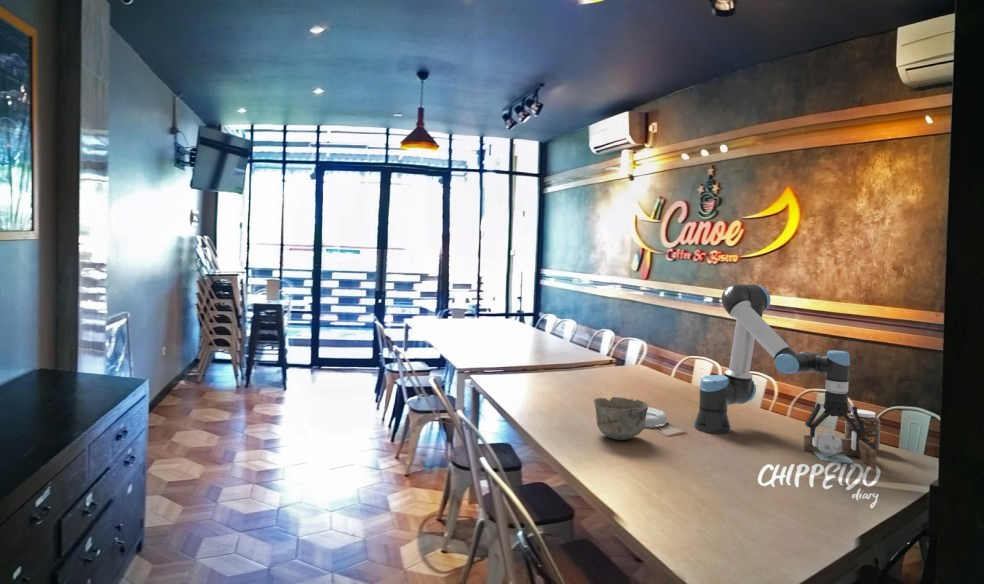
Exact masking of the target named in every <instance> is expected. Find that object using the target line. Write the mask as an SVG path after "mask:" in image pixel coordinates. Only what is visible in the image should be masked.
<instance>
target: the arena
mask: <svg viewBox="0 0 984 584" xmlns="http://www.w3.org/2000/svg"><path fill="white" fill-rule="evenodd" d="M839 438H840V439H841V441H842V452H840V453H837V454H845V455H846V456H853V457H858V458H859V459H860V460H861V461H862V462H863V463H865V464H866V465H867V466H869V467H870V468H872V469H877V456H878V455H877V454H878V452H877V451H875V450H874V449H872V448H871V447H870V446H868V445H867V444H866V443H864V442H863V441H862V440H859V441H856V450H853V449H851V439H845V437H844V438H843V437H839ZM812 441H813V437H811V436H810V434H804V435H803V451H804V452H810V453H811V452H813V451H815V452H821V451H820V450H819V449H818V448H817V447H814V446H813V445H812ZM813 453H814V452H813Z"/></svg>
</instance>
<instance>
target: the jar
mask: <svg viewBox="0 0 984 584" xmlns="http://www.w3.org/2000/svg"><path fill="white" fill-rule="evenodd" d="M857 413H858V415H859V417H860V419H861V422H862V424H863V426H864V428H865V432H861V433H860V434H859V440H862V441H863V442H864V443H866V444H867V445H868V446H870V447H871V448H872V449H874V450H875V451H877V453H879V451H880V441H881V440H880V438H881V437H880V436H881V420H880V418H878V417H876V412H874V411H871V410H866V409H858V408H857ZM846 414H847V413H846ZM847 415H848V417H849V418H850V419H851V421H852V422H853V423H854V424H855V425H856V427H857V428H859V427H858V424H857V422H856V420H855V418H854V416H853V414H852V412H851V411H850V413H848V414H847ZM844 424H845V425H844V438H845V439H851V438H852V431H854V430H853V428H852V427H851V426H850V425H849V423H848V422H847V421H846V420H845V423H844ZM854 432H855V431H854Z"/></svg>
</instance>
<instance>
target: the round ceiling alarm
mask: <svg viewBox="0 0 984 584" xmlns="http://www.w3.org/2000/svg"><path fill="white" fill-rule="evenodd" d="M667 422H668V417H667V414H666V412H664V411H663V410H661V409H658V408H654V407H650V406H649V407H648V410H647V414H646V421H645V427H644V428H655V427H654V426H655V425H659V424H666V423H667ZM667 424H668V423H667ZM667 424H666V425H667Z"/></svg>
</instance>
